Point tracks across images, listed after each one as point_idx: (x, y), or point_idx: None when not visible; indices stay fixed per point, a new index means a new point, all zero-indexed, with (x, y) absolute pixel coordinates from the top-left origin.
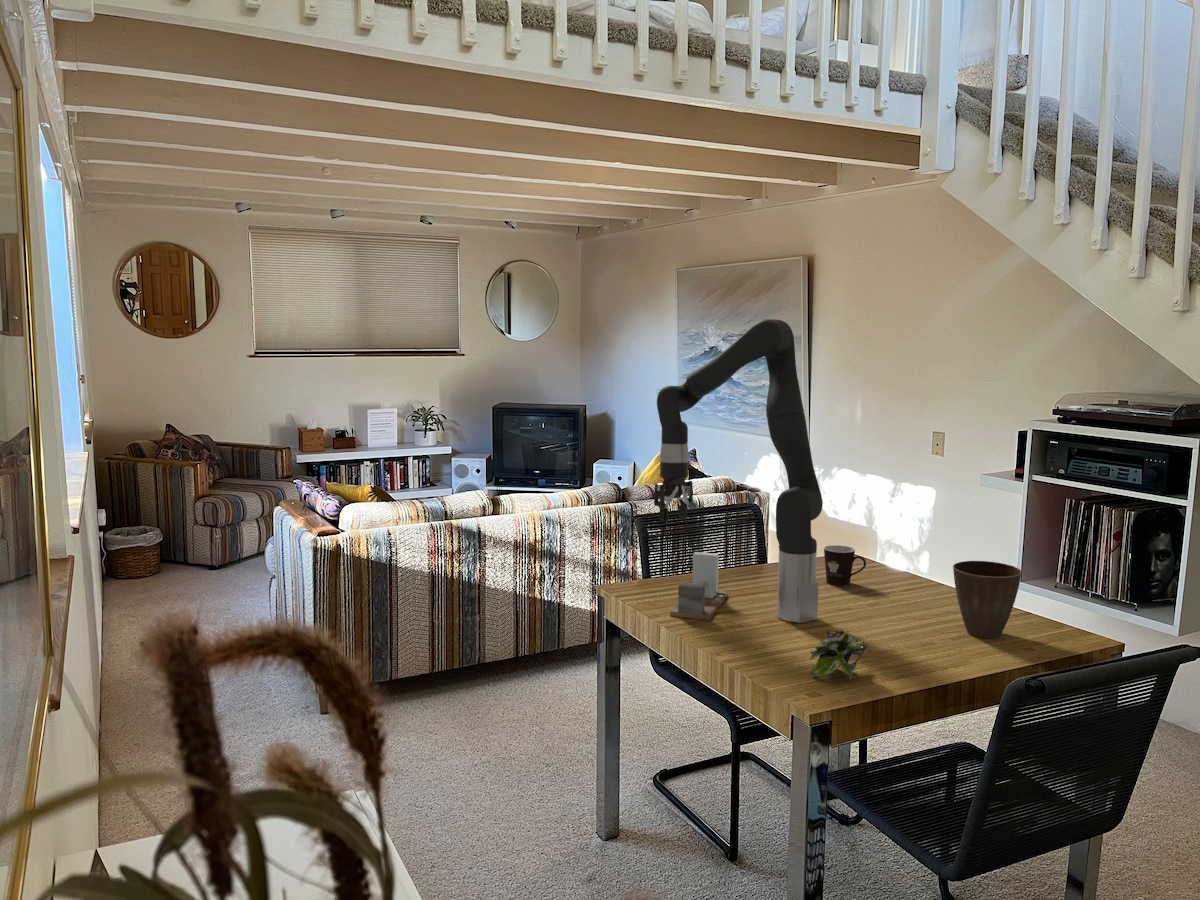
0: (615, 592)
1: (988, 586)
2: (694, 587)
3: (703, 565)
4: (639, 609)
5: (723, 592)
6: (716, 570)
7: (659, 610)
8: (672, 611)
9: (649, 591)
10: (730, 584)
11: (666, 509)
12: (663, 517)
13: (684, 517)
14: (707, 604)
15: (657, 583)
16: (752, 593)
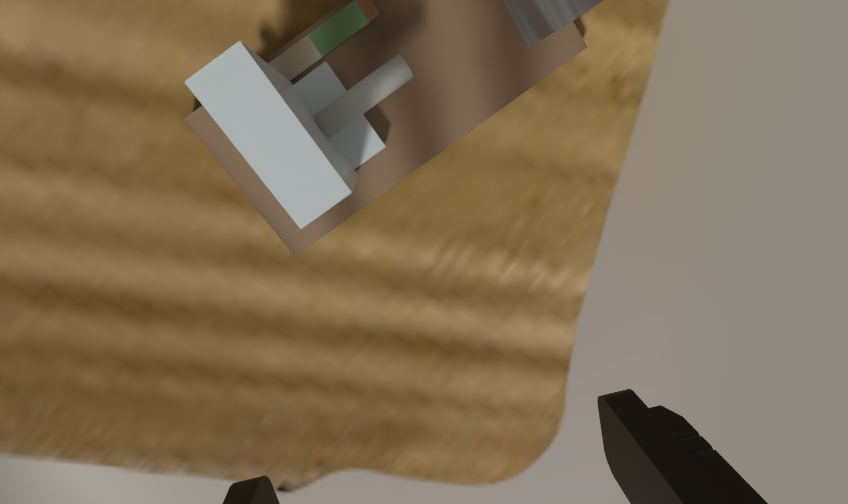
0: (539, 407)
1: None
2: None
3: (312, 130)
4: (610, 192)
5: (207, 121)
6: (263, 60)
7: (561, 136)
8: (582, 40)
9: (429, 354)
10: (55, 252)
11: (726, 498)
12: (690, 428)
13: (262, 494)
14: (396, 22)
15: (333, 423)
16: (50, 80)
